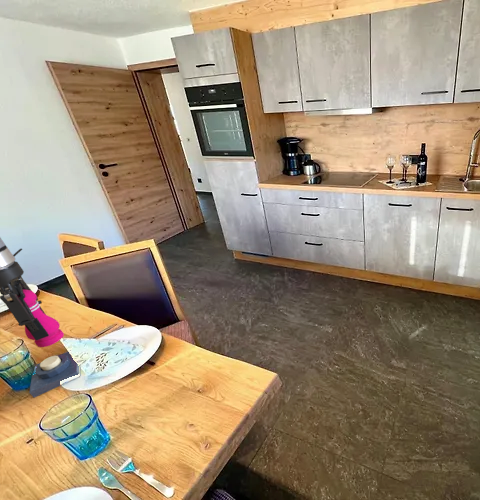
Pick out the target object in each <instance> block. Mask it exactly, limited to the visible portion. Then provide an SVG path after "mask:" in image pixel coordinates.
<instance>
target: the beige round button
mask: <svg viewBox="0 0 480 500" xmlns="http://www.w3.org/2000/svg"><path fill="white" fill-rule="evenodd" d="M39 363H40V367H41V368H42V369H43V370H44V371H48V370H51V369H53V368H55V367H56V366H58V365H59V364H60V363H61V360H60V358H59V357H58V355H51V356H48V357H47V358H45V359H43V360H42V361H41V362H39Z"/></svg>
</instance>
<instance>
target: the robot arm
mask: <svg viewBox="0 0 480 500" xmlns="http://www.w3.org/2000/svg"><path fill="white" fill-rule="evenodd" d="M22 250H23V248H19V249H18V250H17V251H16V252H15V253H12V252H11V250H10V248H8V246H7V245H6V244H5V242H4V241H3V239H2V237H0V294H1V295H0V300H1V301H2V302H3V303H4V304H5V306H6V307H7V309H8V310H9V311H10V313H11V314H12V316H13V317H14V319H15V320H16V322H17V325H18V326H20V327H23V326H24V327H25V326H26V328H27V329H28V330H29V332H30V333H31V334H32V335H33V337H34V338H35V339H36V340H39V339H42V338H44V337H47V336H49V334H48V333H47V331H46V330H45V329H44V327H43V326H42V324H41V323H40V322H39V320H38V319H37V318H35V317H34V316H33V314H32V312H31V310H30V308H29V306H28V305H27V303H26V302H25V300H24V298H25V297H26V296H25V294H24V292H23V290H30V291H32V289H31V288H30V287H29V285H28V284H27V282H26V281H25V280H24V278H23V277H22V276H23V275H24V272H25V271H24V269H23V268H22V267H21V264H20V263H19V262H18V261H16V256H17V255H18V254H20V252H21V251H22ZM20 295H21V297H18V296H20ZM36 301H38V303H39V304H40V305H41V304H42V303H43V302H42V300H39V298H38V297H37V299H36ZM39 308H40V309H41V311H42V312H43V313H44V314H46V313H45V311H44V310H43V308H42V307H41V306H40V307H39Z"/></svg>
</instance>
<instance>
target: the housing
mask: <svg viewBox="0 0 480 500" xmlns="http://www.w3.org/2000/svg"><path fill="white" fill-rule="evenodd" d="M57 356H58V357H59V358H60V360H61V363H60V364H59V365H58V366H56V367H55V368H53V369H51V370H48V371H44V370H43V369H42V368H41V367H40V363H41V362H39V363H36V364H35V365H37V368H36V372H35V373H36V374H34V375H32V374H31V380H30V385H29V392H28V394H30V395H31V396H32V398H37V397H38V396H41V395H43V394H45V393H47V392H50V391H52V390H54V389H57V388H58V387H61V386H60V381H62V380H64V379H67V378H69V377H72V376H75V375H78V374H79V366H78V364H77V363H76V362H75V361H74V360H73V358H72V357H71V355H70V354H69V352H68V351H66V352H63V353H61V354H58V355H57Z"/></svg>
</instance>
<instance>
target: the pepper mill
mask: <svg viewBox="0 0 480 500" xmlns="http://www.w3.org/2000/svg"><path fill="white" fill-rule="evenodd" d="M23 292H24V294H25V296H26V297H25V298H24V300H25V302H26V303H27V305H28V306H29V308H30V310H31V312H32V314H33V316H34V317H35V318H37V319H38V320H39V322H40V323H41V324H42V326H43V327H44V329H45V330H46V331H47V333H48V334H49V336H47V337H44V338H42V339H39V340H36V339H35V338H34V337H33V335H32V334H31V333H30V332H29V330H28V329H27V328H26V326H25V325H24V333H25V336H26V337H27V339H29V340H30V341H34V342H33V343H34V344H35V345H36V347H37V348H47V347H50V346H52V345H55V344H56V343H58V342H59V341H60V340H62V339H63V338H64V335H65V334H64V332H63V330H62V329H60V326H61V325H60V322H59V321H58V320H57V319H56V318H54V317H52V316H50V315H48V314H46V313H45V312H44V313H45V314H44V313H43V312H42V311H41V309H40V308H39V307H41V304H39V303H38V301H39V300H37V301H36V299H37V298H38V296H37V294H36V293H35V292H34V291H30V290H23ZM18 297H21V295H20V296H18ZM61 338H62V339H61Z"/></svg>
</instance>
